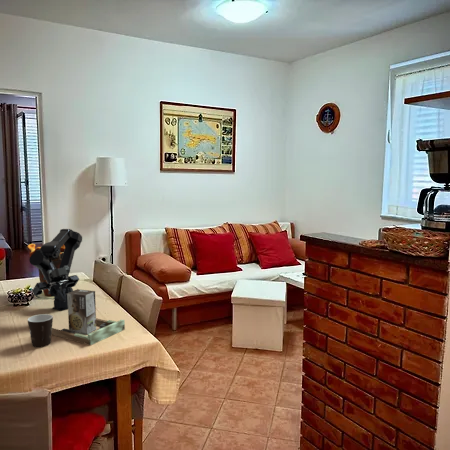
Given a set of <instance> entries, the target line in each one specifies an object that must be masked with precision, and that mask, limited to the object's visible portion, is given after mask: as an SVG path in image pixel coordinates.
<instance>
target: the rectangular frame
mask: <svg viewBox="0 0 450 450" xmlns="http://www.w3.org/2000/svg"><path fill="white" fill-rule="evenodd" d="M97 325H98V326H99V329H96V330H94V331H92V332H90V333H89V334H82V333H75V331H72V330H69V328H62V329H58V328H53V327H52V334H51V336H56V337H59V338H62V339H66V340H70V341H74V342H76V343H81V344H84V345H87V346H92V345H95V344H97V343H99V342H101V341H103V340H105V339H108V338H109V337H112V336H114V335H117V334H118V333H120V332H122V331H125V330H126V326H125V319H120V320H118V321H116V320H111V319H108V320H105V319H101V318H97V317H96V326H97Z"/></svg>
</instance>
